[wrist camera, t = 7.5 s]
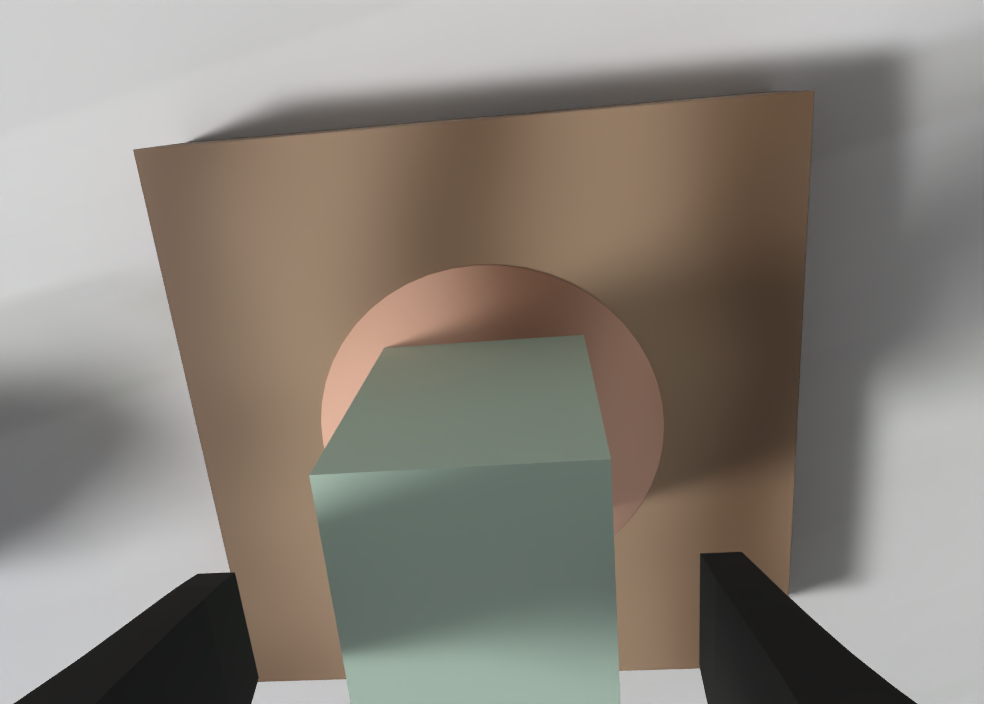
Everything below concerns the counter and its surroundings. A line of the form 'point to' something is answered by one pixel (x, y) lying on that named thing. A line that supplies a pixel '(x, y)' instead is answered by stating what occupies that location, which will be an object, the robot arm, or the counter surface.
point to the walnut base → (500, 324)
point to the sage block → (473, 528)
